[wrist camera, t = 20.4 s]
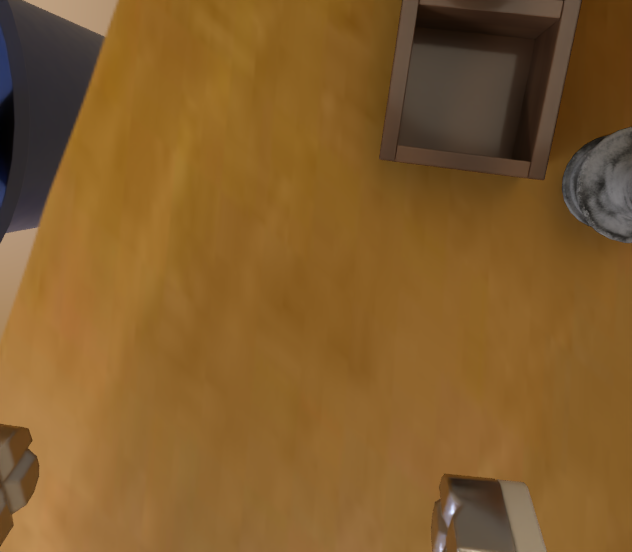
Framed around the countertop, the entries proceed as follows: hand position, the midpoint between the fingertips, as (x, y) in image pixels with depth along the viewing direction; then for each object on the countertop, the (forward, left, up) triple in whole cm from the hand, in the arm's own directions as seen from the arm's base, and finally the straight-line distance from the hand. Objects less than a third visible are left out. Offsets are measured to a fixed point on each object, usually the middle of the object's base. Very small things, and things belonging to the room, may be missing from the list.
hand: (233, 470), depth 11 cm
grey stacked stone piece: (+15, +7, -24) cm, 29 cm away
